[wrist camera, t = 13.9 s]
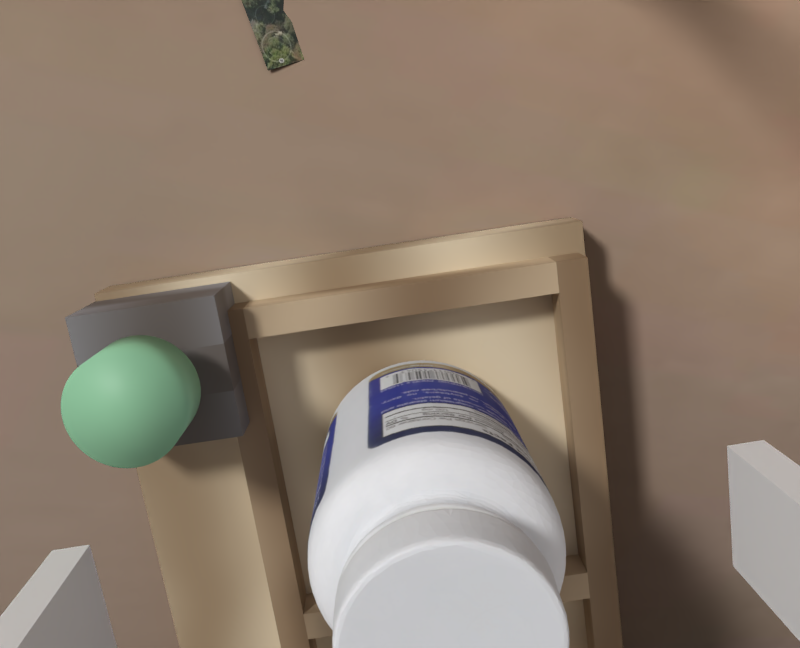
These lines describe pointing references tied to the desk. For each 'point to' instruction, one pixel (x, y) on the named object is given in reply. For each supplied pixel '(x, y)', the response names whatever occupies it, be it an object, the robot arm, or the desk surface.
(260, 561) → the wooden compartment tray
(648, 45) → the desk surface
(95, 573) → the robot arm
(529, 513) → the pill bottle
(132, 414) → the button
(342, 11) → the desk surface
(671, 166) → the desk surface
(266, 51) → the eiffel tower figurine
